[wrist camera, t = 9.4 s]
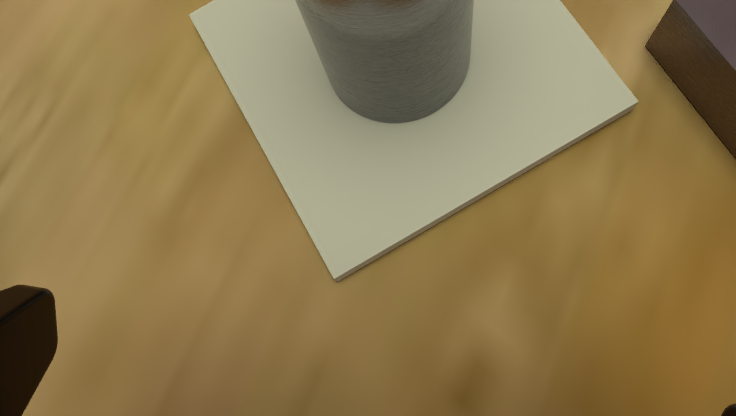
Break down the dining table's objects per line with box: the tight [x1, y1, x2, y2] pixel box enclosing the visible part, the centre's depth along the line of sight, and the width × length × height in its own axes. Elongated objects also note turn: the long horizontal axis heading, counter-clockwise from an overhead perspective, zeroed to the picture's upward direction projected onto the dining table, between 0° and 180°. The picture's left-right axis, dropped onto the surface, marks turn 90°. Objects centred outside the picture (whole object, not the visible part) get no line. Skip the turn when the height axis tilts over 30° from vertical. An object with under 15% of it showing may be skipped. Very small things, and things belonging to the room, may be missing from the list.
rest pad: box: [189, 0, 639, 282], centre depth 19 cm, size 10×10×1 cm
